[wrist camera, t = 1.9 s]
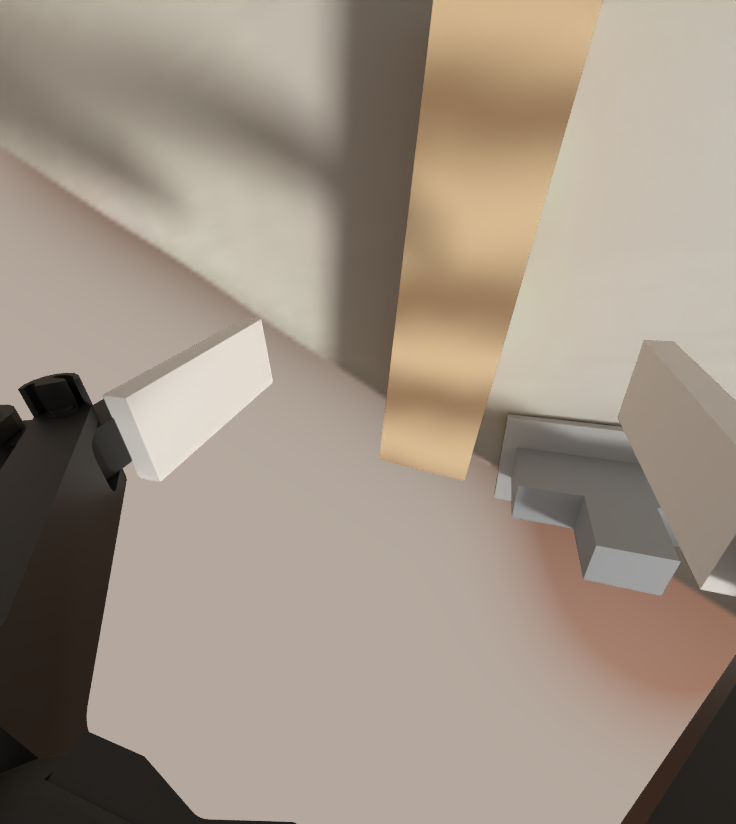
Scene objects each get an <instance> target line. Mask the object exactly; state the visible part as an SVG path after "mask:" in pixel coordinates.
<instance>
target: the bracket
mask: <svg viewBox="0 0 736 824" xmlns="http://www.w3.org/2000/svg"><path fill="white" fill-rule="evenodd" d="M494 498H497V499H502V500H508V501H511V502H512V518H517V519H523V520H528V521H534V522H539V523H545V524H551V525H556V526H561V527H567V528H572V529H574V533H575V538H576V544H577V549H578V554H579V559H580V565H581V570H582V575H583V579H585V580H589V581H594V582H599V583H603V584H608V585H613V586H617V587H622V588H627V589H632V590H636V591H641V592H645V593H650V594H655V595H660V596H661V595H662V593H663V592H664V590H665V588H666V586H667V585H668V583H669V581H670V579H671V578H672V576H673V575H674V573H675V571H676V569H677V568H678V566H679V564H680V563H681V560H680V558H679V556H678V553H677V551H676V549H675V547H677V548H680V546H679V544H678V542H677V540H676V538H675V536H674V534H673V532H672V530H671V528H670V526H669V524H668V521H667V519H666V517H665V515H664V513H663V511H662V509H661V507H660V505H659V503H658V501H657V499H656V497H655V494H654V492H653V490H652V488H651V486H650V484H649V482H648V480H647V478H646V476H645V474H644V472H643V470H642V467H641V465H640V463H639V461H638V459H637V457H636V455H635V453H634V451H633V449H632V447H631V445H630V443H629V440H628V438H627V436H626V434H625V432H624V430H623V428H622V427H620V426H611V425H602V424H593V423H584V422H575V421H566V420H557V419H548V418H539V417H530V416H521V415H512V414H508V416H507V422H506V428H505V434H504V440H503V446H502V451H501V457H500V463H499V469H498V475H497V481H496V487H495V493H494Z"/></svg>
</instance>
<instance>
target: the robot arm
mask: <svg viewBox="0 0 736 824" xmlns="http://www.w3.org/2000/svg"><path fill="white" fill-rule="evenodd" d="M271 383H273V380H272V375H271V369H270V364H269V359H268V353H267V348H266V342H265V337H264V332H263V326H262V321H261V319H247V318H246V319H245V318H244V319H242V320H240V321H239V322H237V323H235V324H233V325H231V326H229V327H228V328H226V329H224V330H222V331H220V332H218V333H216V334H214V335H213V336H211V337H209V338H207V339H205V340H203V341H202V342H200V343H198V344H196V345H194V346H192V347H190V348H189V349H187V350H185V351H183V352H181V353H180V354H177V355H176V356H174V357H172V358H170V359H168V360H166V361H165V362H163V363H161V364H159V365H158V366H155V367H153V368H152V369H150V370H148V371H146V372H144V373H143V374H140V375H139V376H137V377H135V378H133V379H131V380H129V381H128V382H126V383H124V384H122V385H120V386H118V387H117V388H115V389H113V390H111V391H109V392H107V393H105V394H104V395H103V398H104V399H103V400H101V401H99V402H98V403H96V404H94V405H92V402H91V400H90V398H89V396H88V394H87V392H86V390H85V388H84V386H83V383H82V381H81V379H80V377H79V375H77V374H75V373H61V374H54V375H50V376H45V377H42V378H39V379H36V380H33V381H31V382H29V383H27V384H24V385H23V386H22V387H20V388H19V389H18V390H19V391H20V393H21V395H22V397H23V399H24V400H25V402H26V404H27V406H28V408H29V409H30V411H31V413H32V415H33V416H34V418H33V420H25V421H22V419H21V418H20V416H19V414H18V413H17V411H16V409H15V408H14V406H11V405H0V824H296V823H294V822H271V821H239V820H236V821H235V820H208V819H203V818H200V817H198V816H196V815H195V814H194V813H193V812H192V811H191V810H190V809H189V807H188V806H187V805H186V804H185V803H184V802H183V801H182V799H181V798H180V797H179V796H178V795H177V794H176V792H175V791H174V790H173V789H172V788H171V787H170V786H169V784H168V783H167V782H166V781H165V780H164V779H163V777H162V776H161V775H160V774H159V773H158V772H157V771H156V769H155V768H154V767H153V766H152V765H151V764H150V762H149V761H148V760H147V759H146V758H145V757H144V756H142V755H140V754H137V753H135V752H133V751H131V750H128V749H126V748H124V747H122V746H119V745H117V744H115V743H112V742H110V741H108V740H106V739H103V738H101V737H99V736H96V735H94V734H92V733H90V732H89V731H88V728H87V718H86V715H87V705H88V699H89V694H90V688H91V682H92V676H93V671H94V664H95V659H96V653H97V647H98V642H99V636H100V630H101V624H102V619H103V613H104V607H105V602H106V596H107V590H108V584H109V579H110V573H111V566H112V561H113V556H114V550H115V544H116V538H117V533H118V526H119V521H120V515H121V509H122V504H123V498H124V492H125V487H126V481H127V479H126V475H125V473H124V471H123V469H122V468H123V467H125V466H126V465H127V464H129V463H130V462H131V461H132V463H133V465H134V467H135V469H136V471H137V474H138V476H139V478H143V479H148V480H153V481H158V482H161V481H162V480H163V479H164V478H165V477H166V476H168V475H169V474H170V473H171V472H172V471H173V470H174V469H175V468H177V467H178V466H179V465H180V464H181V463H182V462H183V461H185V460H186V459H187V458H188V457H189V456H190V455H191V454H192V453H194V452H195V451H196V450H197V449H198V448H199V447H200V446H201V445H202V444H204V443H205V442H206V441H207V440H208V439H209V438H210V437H212V436H213V435H214V434H215V433H216V432H217V431H218V430H219V429H220V428H222V427H223V426H224V425H225V424H226V423H227V422H229V421H230V420H231V419H232V418H233V417H234V416H235V415H236V414H238V413H239V412H240V411H241V410H242V409H243V408H244V407H245V406H247V405H248V404H249V403H250V402H251V401H252V400H253V399H255V397H257V396H258V395H259V394H260V393H261V392H262V391H264V390H265V388H267V387H268V386H269V385H270V384H271ZM618 420H619V422H620V424H621V426H622V428H623V430H624V432H625V434H626V436H627V438H628V440H629V443H630V445H631V447H632V449H633V451H634V453H635V455H636V457H637V459H638V461H639V463H640V465H641V467H642V470H643V472H644V474H645V476H646V478H647V480H648V482H649V484H650V486H651V488H652V490H653V492H654V494H655V497H656V499H657V501H658V503H659V505H660V507H661V509H662V511H663V513H664V515H665V517H666V519H667V521H668V524H669V526H670V528H671V530H672V532H673V534H674V536H675V538H676V540H677V542H678V544H679V546H680V549H681V551H682V553H683V555H684V557H685V559H686V561H687V563H688V565H689V567H690V569H691V571H692V573H693V576H694V578H695V580H696V582H697V584H698V586H699V588H700V589H701V590H706V591H711V592H716V593H721V594H726V595H731V596H736V400H735V399H733V398H732V397H731V396H730V395H729V394H728V393H727V392H726V391H725V390H724V389H723V388H722V387H721V386H720V385H719V384H718V383H717V382H716V381H715V380H714V379H712V378H711V377H710V376H709V375H708V374H707V373H706V372H705V371H704V370H703V369H702V368H701V367H700V366H699V365H698V364H697V363H696V362H695V361H694V360H693V359H691V358H690V357H689V356H688V355H687V354H686V353H685V352H684V351H683V350H682V349H681V348H680V347H679V346H678V345H677V344H676V343H675V342H672V341H654V340H644V342H643V344H642V347H641V350H640V353H639V356H638V359H637V362H636V365H635V368H634V371H633V374H632V377H631V380H630V383H629V386H628V388H627V391H626V394H625V397H624V400H623V403H622V406H621V409H620V412H619V415H618ZM621 824H736V655H735V657H734V658H733V659H732V661H731V662H730V664H729V665H728V667H727V668H726V670H725V671H724V673H723V674H722V676H721V677H720V679H719V680H718V681H717V683H716V684H715V686H714V687H713V689H712V690H711V692H710V693H709V695H708V696H707V698H706V699H705V701H704V702H703V703H702V705H701V706H700V708H699V709H698V711H697V712H696V714H695V715H694V717H693V718H692V720H691V721H690V723H689V724H688V726H687V727H686V728H685V730H684V731H683V733H682V734H681V736H680V737H679V739H678V740H677V742H676V743H675V745H674V746H673V748H672V749H671V750H670V752H669V753H668V755H667V756H666V758H665V759H664V761H663V762H662V764H661V765H660V767H659V768H658V769H657V771H656V772H655V774H654V775H653V777H652V778H651V780H650V781H649V783H648V784H647V786H646V787H645V789H644V790H643V791H642V793H641V794H640V796H639V797H638V799H637V800H636V802H635V804H634V805H633V806H632V808H631V809H630V811H629V812H628V813H627V815H626V816H625V818H624V819H623V821H622V822H621Z"/></svg>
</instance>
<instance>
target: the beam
mask: <svg viewBox="0 0 736 824" xmlns="http://www.w3.org/2000/svg"><path fill="white" fill-rule="evenodd" d="M602 2H603V0H433V6H432V15H431V23H430V32H429V40H428V49H427V57H426V66H425V74H424V83H423V91H422V100H421V108H420V117H419V125H418V134H417V142H416V151H415V160H414V168H413V177H412V185H411V194H410V202H409V211H408V219H407V228H406V236H405V245H404V253H403V262H402V270H401V279H400V287H399V296H398V304H397V313H396V322H395V330H394V339H393V347H392V356H391V364H390V373H389V381H388V390H387V398H386V408H385V416H384V424H383V432H382V441H381V449H380V460H384V461H388V462H392V463H396V464H400V465H404V466H407V467H412V468H415V469H419V470H423V471H427V472H431V473H435V474H439V475H443V476H446V477H451V478H454V479H458V480H462V481H464V480H465V476H466V473H467V470H468V466H469V463H470V459H471V456H472V452H473V449H474V446H475V442H476V439H477V435H478V432H479V428H480V425H481V421H482V418H483V414H484V411H485V407H486V404H487V400H488V397H489V394H490V390H491V387H492V383H493V380H494V376H495V373H496V369H497V366H498V362H499V359H500V355H501V352H502V348H503V345H504V341H505V338H506V335H507V331H508V328H509V324H510V321H511V317H512V314H513V310H514V307H515V303H516V300H517V296H518V293H519V289H520V286H521V283H522V279H523V276H524V272H525V269H526V265H527V262H528V258H529V255H530V251H531V248H532V244H533V241H534V237H535V234H536V230H537V227H538V224H539V220H540V217H541V213H542V210H543V206H544V203H545V199H546V196H547V192H548V189H549V185H550V182H551V178H552V175H553V171H554V168H555V165H556V161H557V158H558V154H559V151H560V147H561V144H562V140H563V137H564V133H565V130H566V126H567V123H568V119H569V116H570V113H571V109H572V106H573V102H574V99H575V95H576V92H577V88H578V85H579V81H580V78H581V74H582V71H583V67H584V64H585V60H586V57H587V54H588V50H589V47H590V43H591V40H592V36H593V33H594V29H595V26H596V22H597V19H598V15H599V12H600V8H601V5H602Z"/></svg>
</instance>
